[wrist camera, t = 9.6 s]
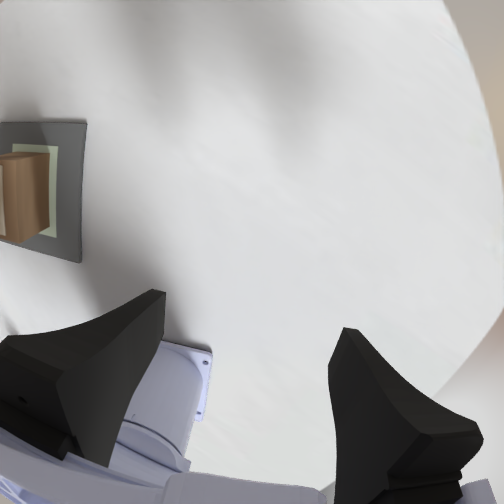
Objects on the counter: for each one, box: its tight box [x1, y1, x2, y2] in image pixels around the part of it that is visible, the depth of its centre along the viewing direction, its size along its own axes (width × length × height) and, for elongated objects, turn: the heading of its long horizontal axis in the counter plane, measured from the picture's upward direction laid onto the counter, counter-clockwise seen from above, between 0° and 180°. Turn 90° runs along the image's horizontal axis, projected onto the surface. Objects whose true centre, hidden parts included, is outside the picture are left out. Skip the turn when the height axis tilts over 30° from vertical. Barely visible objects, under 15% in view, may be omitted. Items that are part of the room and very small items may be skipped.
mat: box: [0, 122, 87, 263], centre depth 22 cm, size 11×10×1 cm
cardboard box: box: [0, 151, 50, 244], centre depth 19 cm, size 4×6×4 cm, turn 170°
